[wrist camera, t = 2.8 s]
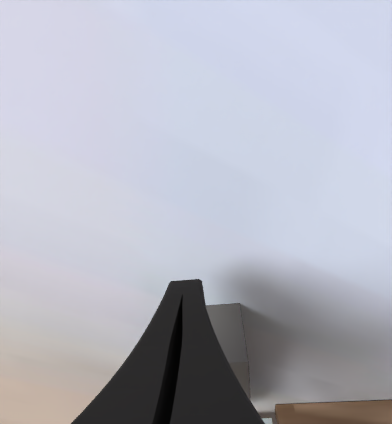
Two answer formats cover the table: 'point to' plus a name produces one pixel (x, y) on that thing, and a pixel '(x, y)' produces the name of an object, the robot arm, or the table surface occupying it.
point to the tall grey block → (231, 339)
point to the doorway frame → (335, 413)
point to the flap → (267, 420)
